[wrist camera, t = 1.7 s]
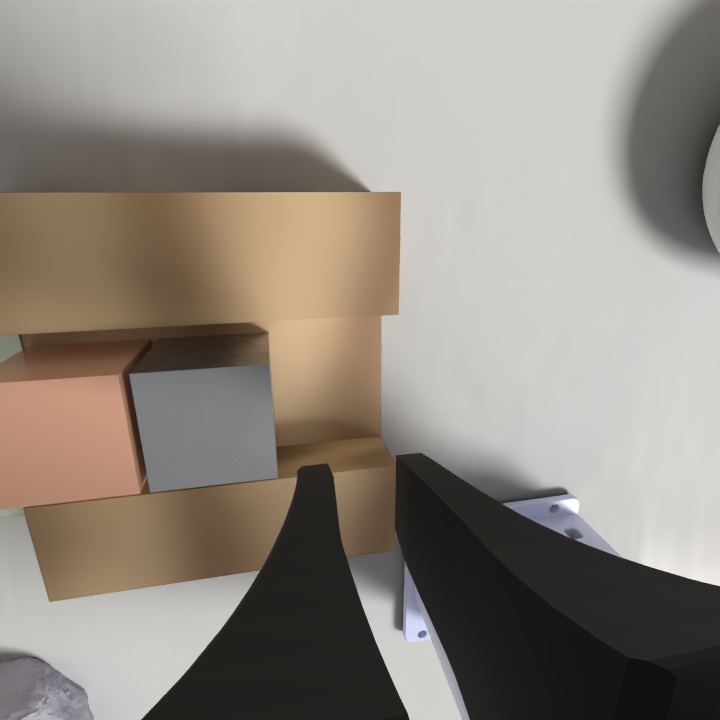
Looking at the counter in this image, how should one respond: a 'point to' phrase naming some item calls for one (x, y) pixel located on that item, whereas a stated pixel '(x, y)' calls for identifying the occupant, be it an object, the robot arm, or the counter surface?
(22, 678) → the stone block
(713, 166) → the spoon rest
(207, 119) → the counter surface
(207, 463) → the grey steel block
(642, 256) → the counter surface
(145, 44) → the counter surface
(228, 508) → the oak channel board
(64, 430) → the terracotta block
